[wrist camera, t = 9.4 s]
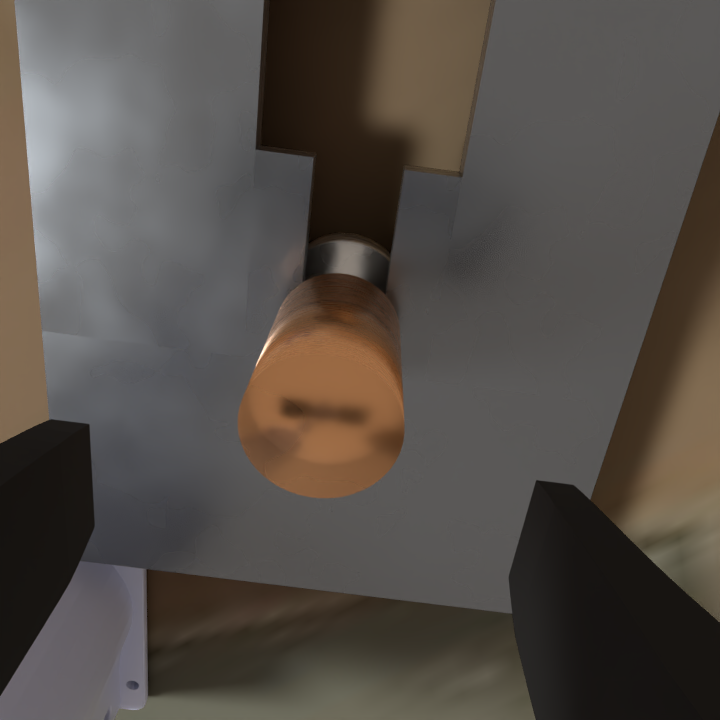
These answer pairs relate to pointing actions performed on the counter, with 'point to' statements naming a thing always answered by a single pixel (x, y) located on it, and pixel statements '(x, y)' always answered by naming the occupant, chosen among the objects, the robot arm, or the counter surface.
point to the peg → (329, 377)
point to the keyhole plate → (403, 287)
